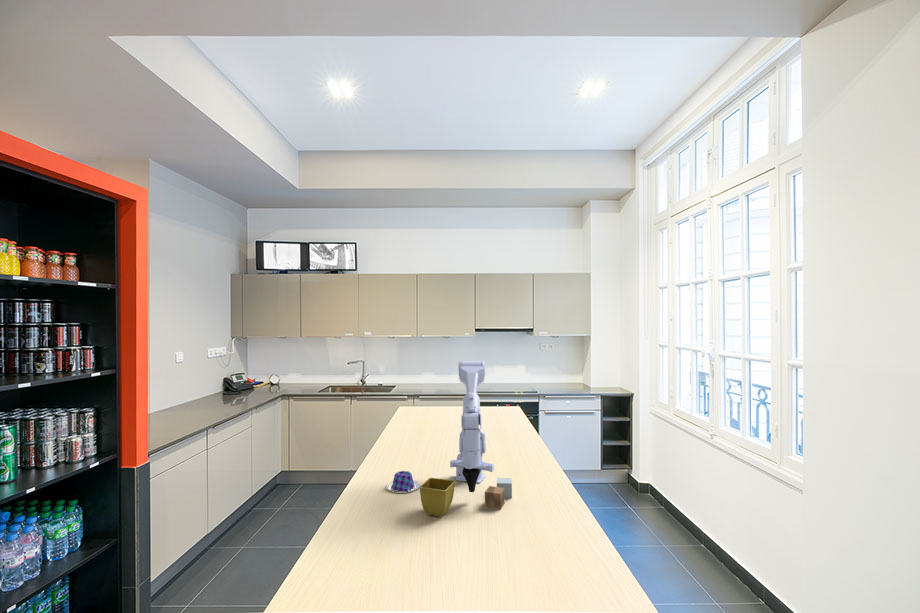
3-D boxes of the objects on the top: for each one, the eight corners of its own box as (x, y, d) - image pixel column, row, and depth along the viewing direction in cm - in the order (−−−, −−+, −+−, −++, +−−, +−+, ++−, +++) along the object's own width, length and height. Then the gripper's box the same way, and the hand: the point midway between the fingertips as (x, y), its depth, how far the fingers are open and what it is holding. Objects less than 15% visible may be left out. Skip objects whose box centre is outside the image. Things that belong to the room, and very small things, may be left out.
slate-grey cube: (496, 498, 149) (496, 483, 149) (496, 492, 154) (496, 477, 154) (511, 498, 148) (511, 483, 148) (511, 492, 153) (511, 478, 153)
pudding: (426, 486, 160) (426, 471, 160) (403, 497, 150) (403, 481, 151) (402, 479, 167) (402, 465, 167) (379, 489, 157) (378, 474, 158)
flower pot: (455, 509, 140) (455, 480, 141) (446, 521, 132) (445, 490, 132) (430, 505, 143) (430, 477, 144) (419, 517, 135) (418, 487, 135)
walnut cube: (484, 491, 141) (500, 493, 140) (489, 486, 146) (504, 488, 144) (484, 507, 141) (500, 509, 140) (489, 501, 146) (504, 503, 144)
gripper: (446, 450, 145) (446, 492, 144) (489, 454, 140) (489, 498, 139) (454, 444, 151) (454, 485, 151) (495, 448, 146) (495, 490, 146)
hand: (472, 491), depth 145 cm, fingers closed
